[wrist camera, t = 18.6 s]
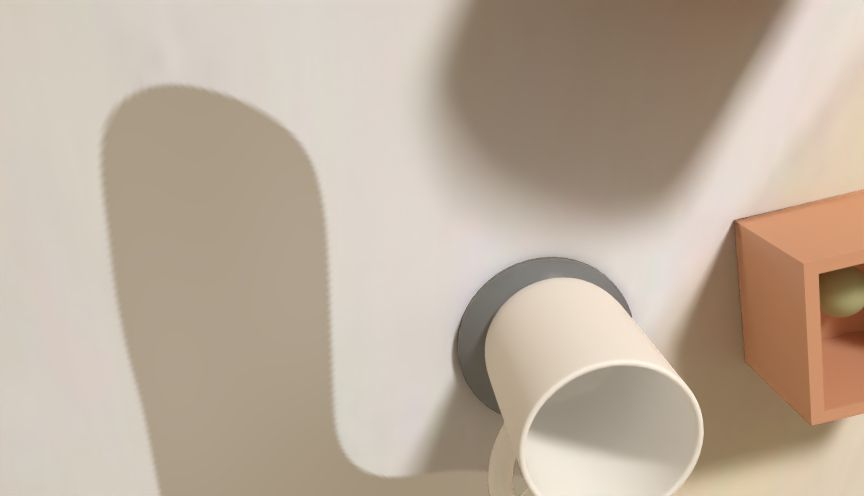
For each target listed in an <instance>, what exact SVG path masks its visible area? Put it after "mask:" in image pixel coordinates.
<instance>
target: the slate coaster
mask: <svg viewBox="0 0 864 496" xmlns="http://www.w3.org/2000/svg"><path fill="white" fill-rule="evenodd" d="M563 277H564V278H575V279H580V280H584V281H587V282H590V283H592V284H594V285H596V286H598V287H600V288H602V289H603V290H605V291H606V292H608V293H609V294H610V295H611V296H612V297H613V298H614V299H615V300H617V301H618V302H619V303H620V305H621V306H622V307H623V308H624V309H625V311H626V312H627V313H628V314H629V315H630V317H631V318H632V315H631V312H630V309H629V306H628V304H627V302H626V300H625V298H624V297H623V295H622V294H621V292H620V291H619V290H618V288H617V287H616V286H615V285H614V284H613V282H611V281H610V280H609V279H608V278H607V277H606V276H605V275H604V274H603V273H601V272H600V271H598V270H597V269H595V268H593V267H591V266H589V265H588V264H585V263H582V262H579V261H577V260H572V259H568V258H559V257H544V258H537V259H531V260H527V261H524V262H521V263H518V264H515V265H513V266H511V267H509V268H507V269H505V270H503V271H502V272H500V273H498V274H497V275H495V276H494V277H493V278H491V279H490V280H489V281H488V282H487V283H486V284H485V285H484V286H483V287H482V288H481V289H480V290H479V291H478V292H477V293H476V295H475V296H474V297H473V298H472V300H471V302H470V303H469V305H468V307H467V308H466V311H465V313H464V315H463V317H462V320H461V324H460V327H459V333H458V356H459V362H460V365H461V369H462V372H463V375H464V377H465V379H466V381H467V384H468V385H469V387H470V388H471V390H472V391H473V393H474V394H475V395H476V396H477V397H478V398H479V399H480V401H482V402H483V403H484V404H485V405H486V406H488V407H489V408H491V409H492V410H494V411H495V412H497V413H499V414H501V411H500V408H499V406H498V403H497V400H496V397H495V394H494V391H493V388H492V385H491V382H490V379H489V375H488V372H487V368H486V362H485V341H486V336H487V332H488V329H489V326H490V324H491V322H492V320H493V318H494V316H495V315H496V313H497V312H498V310H499V309H500V308H501V306H502V305H503V304H504V303H505V302H506V301H507V300H508V299H509V298H510V297H512V296H513V295H514V294H515V293H517V292H518V291H520V290H521V289H523V288H525V287H527V286H529V285H531V284H533V283H536V282H539V281H542V280H546V279H552V278H563ZM501 415H502V414H501Z"/></svg>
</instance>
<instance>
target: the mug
mask: <svg viewBox="0 0 864 496" xmlns="http://www.w3.org/2000/svg"><path fill="white" fill-rule="evenodd" d="M485 362H486V368H487V372H488V375H489V379H490V382H491V385H492V388H493V391H494V394H495V397H496V400H497V403H498V406H499V408H500V411H501V414H502V417H503V420H504V424H503V426H502V427H501V429H500V431H499V434H498V436H497V438H496V441H495V443H494V446H493V450H492V453H491V457H490V462H489V470H488V490H489V496H516V495H515V492H514V488H513V482H512V481H513V468H514V464H515V460H516V458H517V461H518V464H519V467H520V470H521V473H522V476H523V478H524V480H525V483H526V485H527V486H528V487H527V489H526V490H525V491H524V492H523V493H522V494H521V495H520V496H672V495H673V494H674V493H675V492H676V491H677V490H678V489H679V488H680V487H681V486H682V485H683V484H684V482H685V481H686V479H687V478H688V477H689V475H690V474H691V472H692V470H693V468H694V467H695V465H696V463H697V460H698V458H699V455H700V452H701V448H702V444H703V435H704V430H703V418H702V413H701V410H700V407H699V404H698V401H697V400H696V398H695V396H694V394H693V393H692V391H691V390H690V389H689V387H688V386H687V385H686V384H685V382H684V381H683V380H682V379H681V378H680V376H679V375H678V374H677V373H676V371H675V370H674V369H673V368H672V367H671V365H670V364H669V363H668V362H667V360H666V359H665V358H664V357H663V356H662V354H661V353H660V352H659V351H658V350H657V348H656V347H655V346H654V345H653V343H652V342H651V341H650V340H649V339H648V337H647V336H646V335H645V334H644V332H643V331H642V330H641V329H640V328H639V326H638V325H637V324H636V323H635V321H634V320H633V319H632V318H631V317H630V315H629V314H628V313H627V312H626V311H625V309H624V308H623V307H622V306H621V305H620V303H619V302H618V301H617V300H615V299H614V298H613V297H612V296H611V295H610V294H609V293H608V292H606V291H605V290H603V289H602V288H600V287H598V286H596V285H594V284H592V283H590V282H587V281H584V280H580V279H575V278H564V277H563V278H552V279H546V280H542V281H539V282H536V283H533V284H531V285H529V286H527V287H525V288H523V289H521V290H520V291H518V292H517V293H515V294H514V295H513V296H512V297H510V298H509V299H508V300H507V301H506V302H505V303H504V304H503V305H502V306H501V308H500V309H499V310H498V312H497V313H496V315H495V316H494V318H493V320H492V322H491V324H490V326H489V329H488V332H487V336H486V341H485Z"/></svg>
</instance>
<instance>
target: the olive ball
mask: <svg viewBox="0 0 864 496" xmlns="http://www.w3.org/2000/svg"><path fill="white" fill-rule="evenodd" d="M819 295H820V312H822V313H824V314H826V315H828V316H832V317H848V316H851V315H854V314H856V313H857V312H859V311H860V310H861V309H862V308H863V307H864V274H863V273H862V272H861V271H860V270H859V269H858V268H856V267H854V266H850V267H846V268H842V269H838V270H833V271H829V272H825V273H821V274H819Z"/></svg>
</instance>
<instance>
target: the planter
mask: <svg viewBox="0 0 864 496" xmlns="http://www.w3.org/2000/svg"><path fill="white" fill-rule="evenodd" d="M734 227H735V240H736V252H737V264H738V277H739V289H740V301H741V313H742V326H743V338H744V350H745V362H746V363H747V364H748V365H749V366H750V367H751V368H752V369H753V370H754V371H755V372H756V373H757V374H758V375H760V376H761V377H762V378H763V379H764V380H765V381H766V382H767V383H768V384H769V385H770V386H771V387H772V388H773V389H774V390H775V391H776V392H777V393H778V394H779V395H780V396H781V397H782V398H783V399H784V400H785V401H786V402H787V403H788V404H789V405H791V406H792V407H793V408H794V409H795V410H796V411H797V412H798V413H799V414H800V415H801V416H802V417H803V418H804V419H805V420H806V421H807V422H808V423H809V424H810V425H811V426H813V425H817V424H822V423H826V422H830V421H834V420H838V419H842V418H846V417H851V416H855V415H859V414H863V413H864V307H863V308H862V309H861V310H860V311H859V312H857V313H856V314H854V315H851V316H848V317H832V316H828V315H826V314H824V313H822V312H820V295H819V274H821V273H825V272H829V271H833V270H838V269H842V268H846V267H850V266H854V267H856V268H858V269H859V270H860V271H861V272H862V273H863V274H864V190H860V191H856V192H852V193H848V194H843V195H839V196H835V197H831V198H826V199H822V200H818V201H814V202H809V203H805V204H801V205H797V206H793V207H788V208H784V209H780V210H776V211H771V212H767V213H763V214H759V215H754V216H750V217H746V218H742V219H737V220H734Z"/></svg>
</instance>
